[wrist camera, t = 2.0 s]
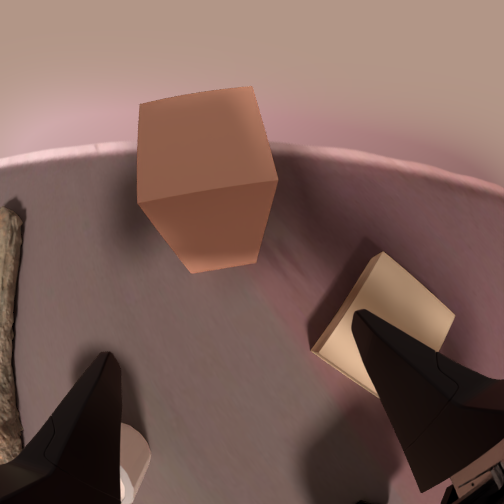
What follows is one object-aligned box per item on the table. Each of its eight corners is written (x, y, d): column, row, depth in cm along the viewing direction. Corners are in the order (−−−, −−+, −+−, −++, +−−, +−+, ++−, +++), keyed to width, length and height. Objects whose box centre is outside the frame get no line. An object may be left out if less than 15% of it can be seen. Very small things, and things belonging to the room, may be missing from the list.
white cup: (116, 401, 20) (78, 420, 14) (173, 455, 19) (152, 493, 13) (78, 437, 19) (39, 460, 12) (129, 488, 18) (103, 523, 11)
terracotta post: (256, 262, 24) (278, 180, 11) (191, 273, 24) (137, 203, 10) (244, 203, 26) (252, 86, 12) (184, 213, 25) (139, 104, 12)
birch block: (388, 404, 22) (404, 411, 19) (308, 350, 23) (318, 352, 20) (437, 318, 24) (455, 315, 21) (368, 259, 25) (383, 251, 22)
